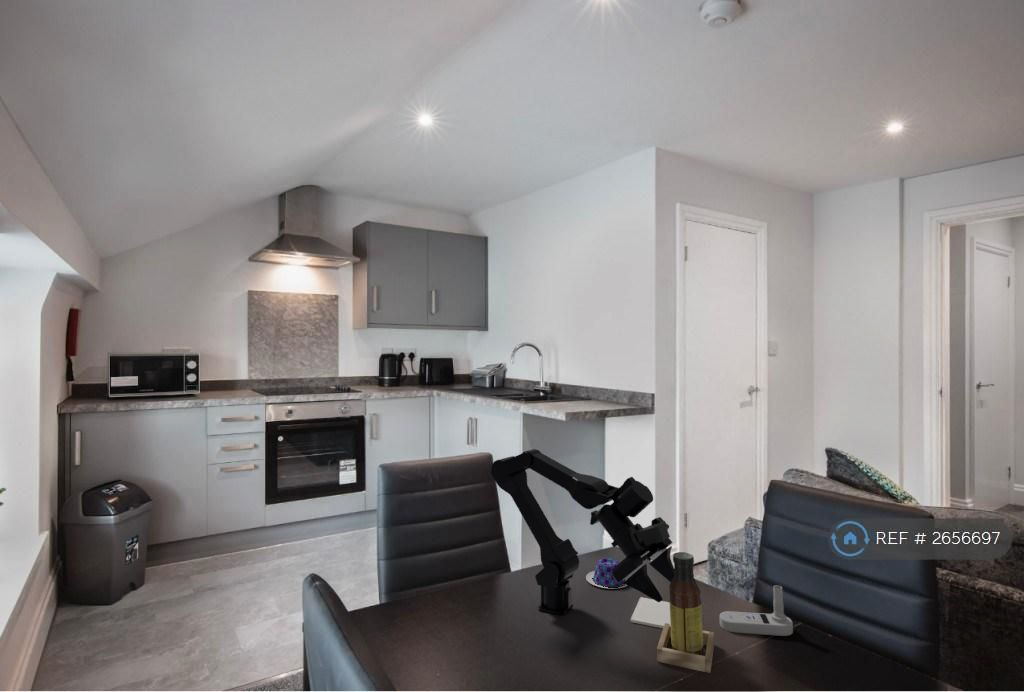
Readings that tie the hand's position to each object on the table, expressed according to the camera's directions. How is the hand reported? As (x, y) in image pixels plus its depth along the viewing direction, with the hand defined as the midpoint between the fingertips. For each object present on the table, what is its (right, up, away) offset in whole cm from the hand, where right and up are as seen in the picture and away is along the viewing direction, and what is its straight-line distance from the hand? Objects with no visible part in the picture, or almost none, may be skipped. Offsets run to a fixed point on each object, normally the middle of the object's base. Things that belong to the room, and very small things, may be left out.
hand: (670, 593), depth 114 cm
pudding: (-7, -12, +33) cm, 36 cm away
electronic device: (+21, -12, +7) cm, 25 cm away
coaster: (+2, -11, +13) cm, 18 cm away
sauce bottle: (+3, -11, -2) cm, 12 cm away
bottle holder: (+3, -11, -2) cm, 12 cm away
